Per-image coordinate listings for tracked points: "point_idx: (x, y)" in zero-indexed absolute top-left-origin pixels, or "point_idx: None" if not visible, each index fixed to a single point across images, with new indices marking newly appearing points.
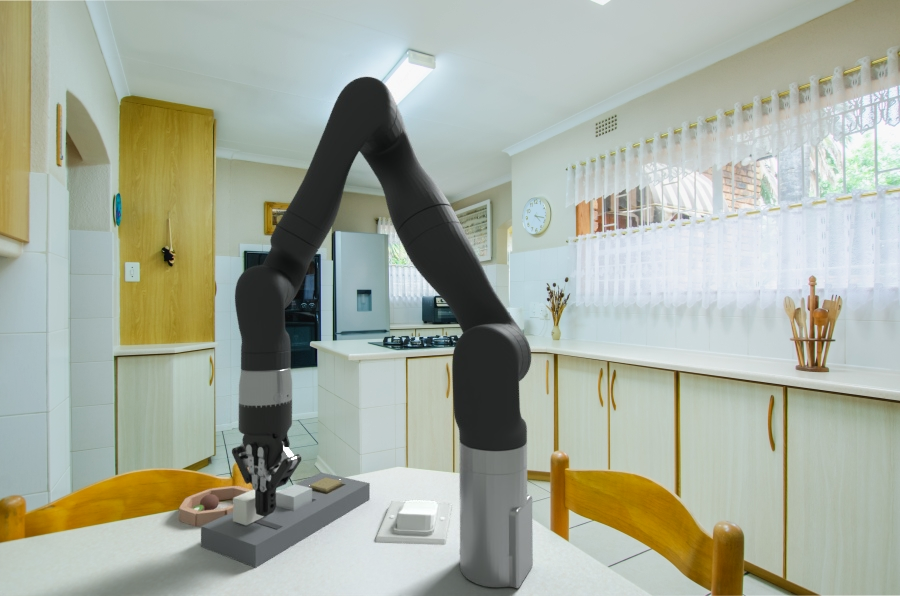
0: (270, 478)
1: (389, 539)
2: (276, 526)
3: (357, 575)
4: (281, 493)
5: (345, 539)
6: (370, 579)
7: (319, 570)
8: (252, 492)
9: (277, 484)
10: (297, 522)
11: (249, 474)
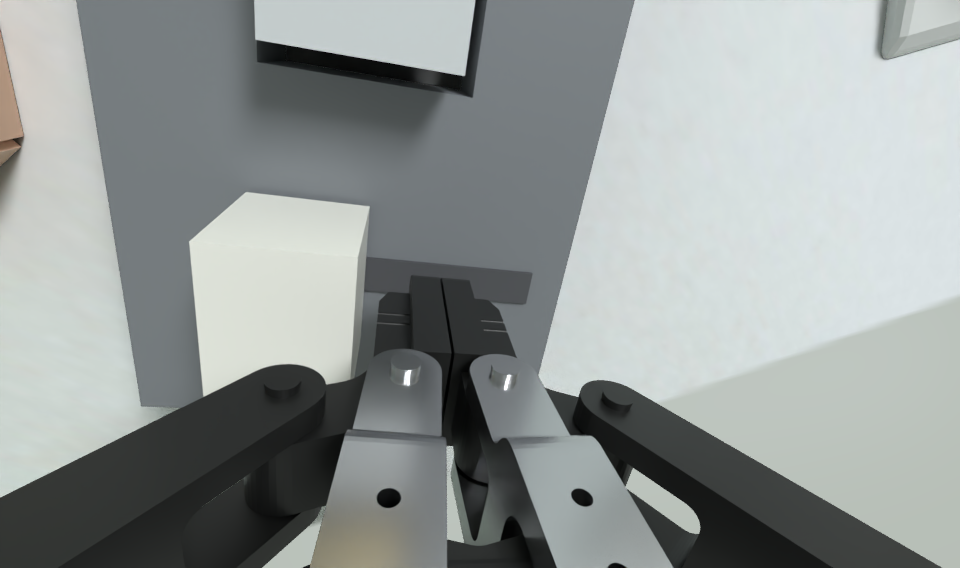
0: (441, 388)
1: (954, 30)
2: (506, 286)
3: (847, 283)
4: (315, 44)
5: (746, 82)
6: (889, 285)
7: (721, 304)
8: (244, 306)
9: (637, 503)
10: (579, 211)
11: (285, 531)
